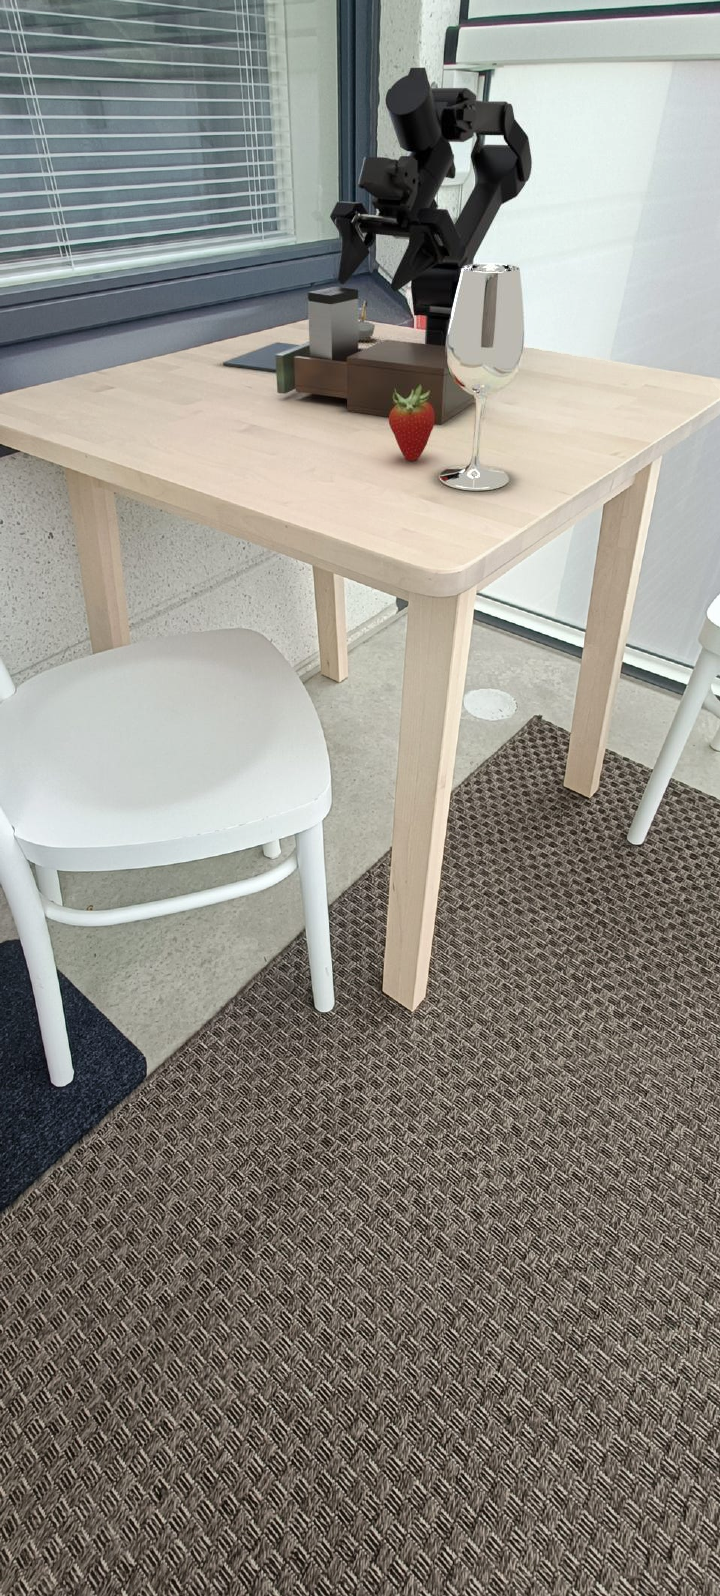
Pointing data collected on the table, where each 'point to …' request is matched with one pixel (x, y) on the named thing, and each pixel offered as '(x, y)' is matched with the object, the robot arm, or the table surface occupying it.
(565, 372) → the table surface
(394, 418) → the fruit
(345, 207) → the robot arm
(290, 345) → the mat
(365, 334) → the figurine
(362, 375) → the cabinet
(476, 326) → the wineglass
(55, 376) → the table surface
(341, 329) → the grey canister
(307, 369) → the drawer
